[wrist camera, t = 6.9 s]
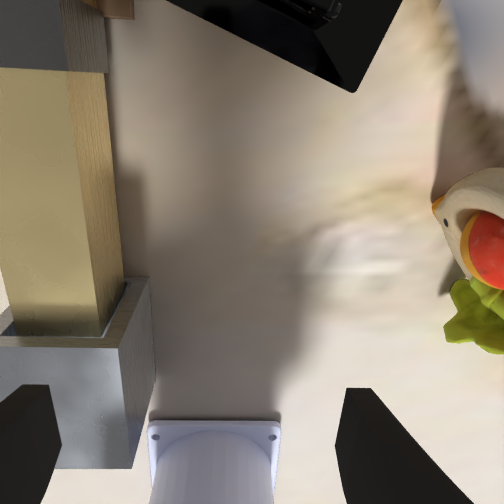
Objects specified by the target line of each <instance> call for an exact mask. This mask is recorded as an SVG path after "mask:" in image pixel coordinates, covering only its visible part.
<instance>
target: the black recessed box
mask: <svg viewBox="0 0 504 504" xmlns="http://www.w3.org/2000/svg"><path fill="white" fill-rule="evenodd" d="M166 1H168V2H170V3H172V4H174V5H176V6H178V7H180V8H182V9H184V10H186V11H188V12H190V13H192V14H194V15H196V16H198V17H200V18H202V19H204V20H206V21H208V22H210V23H212V24H214V25H216V26H218V27H220V28H222V29H224V30H226V31H228V32H230V33H232V34H234V35H236V36H238V37H240V38H242V39H244V40H246V41H248V42H250V43H252V44H254V45H256V46H258V47H260V48H262V49H264V50H266V51H268V52H270V53H272V54H274V55H276V56H278V57H280V58H282V59H284V60H286V61H288V62H290V63H292V64H294V65H296V66H298V67H300V68H302V69H304V70H306V71H308V72H310V73H312V74H314V75H316V76H318V77H320V78H322V79H324V80H326V81H328V82H330V83H332V84H334V85H336V86H338V87H340V88H342V89H344V90H346V91H348V92H351V93H354V92H356V91H357V89H358V87H359V85H360V83H361V81H362V79H363V77H364V75H365V73H366V71H367V69H368V67H369V65H370V64H371V62H372V60H373V58H374V56H375V54H376V52H377V50H378V48H379V46H380V44H381V42H382V40H383V38H384V36H385V34H386V32H387V30H388V28H389V26H390V24H391V22H392V20H393V18H394V16H395V14H396V12H397V10H398V9H399V7H400V5H401V3H402V1H403V0H166ZM436 1H437V2H438V4H440V2H441V0H436Z"/></svg>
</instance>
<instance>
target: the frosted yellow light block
mask: <svg viewBox="0 0 504 504" xmlns="http://www.w3.org/2000/svg"><path fill="white" fill-rule="evenodd" d="M104 73H109V68H108V57H107V46H106V36H105V25H104V14H103V12H102V11H100V10H99V9H97V0H0V268H1V272H2V276H3V280H4V284H5V288H6V292H7V296H8V300H9V304H10V308H11V312H12V316H13V320H14V324H15V328H16V332H17V336H61V337H101V336H102V334H103V333H104V331H105V329H106V327H107V325H108V323H109V321H110V319H111V317H112V315H113V313H114V311H115V310H116V308H117V306H118V304H119V302H120V300H121V298H122V296H123V294H124V292H125V284H124V274H123V263H122V253H121V243H120V233H119V223H118V213H117V202H116V192H115V182H114V172H113V162H112V152H111V142H110V131H109V121H108V111H107V101H106V91H105V81H104Z"/></svg>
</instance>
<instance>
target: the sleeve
mask: <svg viewBox="0 0 504 504" xmlns="http://www.w3.org/2000/svg"><path fill="white" fill-rule="evenodd" d="M124 284H125V292H124V294H123V296H122V298H121V300H120V302H119V304H118V306H117V308H116V310H115V311H114V313H113V315H112V317H111V319H110V321H109V323H108V325H107V327H106V329H105V331H104V333H103V334H102V336H101V337H61V336H17V332H16V328H15V324H14V320H13V316H12V312H11V308H10V306H9V307H8V308H7V309H6V310H5V311H4V312H3V313H2V314H1V315H0V402H1V401H3V400H4V399H5V398H6V397H7V396H9V395H10V394H11V393H12V392H14V391H15V390H16V389H17V388H19V387H20V386H21V385H22V384H42V385H49V387H50V392H51V396H52V401H53V405H54V410H55V414H56V419H57V424H58V428H59V433H60V437H61V442H62V447H61V450H60V453H59V456H58V459H57V462H56V465H55V468H54V469H132V466H133V462H134V458H135V454H136V451H137V447H138V443H139V440H140V436H141V432H142V428H143V425H144V421H145V417H146V413H147V410H148V406H149V402H150V398H151V395H152V391H153V387H154V383H155V380H156V373H155V358H154V343H153V328H152V314H151V299H150V284H149V277H130V276H124Z"/></svg>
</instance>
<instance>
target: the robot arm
mask: <svg viewBox="0 0 504 504" xmlns="http://www.w3.org/2000/svg"><path fill="white" fill-rule="evenodd" d="M155 434H158V435H155ZM147 438H148V449H149V461H150V472H151V484H152V491H151V496H150V501H149V504H274V490H275V482H276V473H277V465H278V456H279V448H280V439H281V425H280V423H278V422H276V421H197V420H154V421H151V422H150V423H149V424H148V428H147ZM61 447H62V442H61V437H60V433H59V428H58V424H57V419H56V414H55V410H54V405H53V401H52V396H51V392H50V387H49V385H42V384H22V385H21V386H20V387H19V388H17V389H16V390H15V391H14V392H12V393H11V394H10V395H9V396H7V397H6V398H5V399H4V400H3V401H1V402H0V504H40V503H41V501H42V499H43V497H44V495H45V492H46V490H47V487H48V485H49V482H50V479H51V476H52V474H53V471H54V468H55V465H56V462H57V459H58V456H59V453H60V450H61ZM335 449H336V455H337V461H338V466H339V472H340V477H341V482H342V487H343V491H344V495H345V498H346V502H347V504H474V503H473V502H472V501H471V500H470V499H469V498H468V497H467V496H466V495H465V494H464V493H463V492H462V491H461V490H460V489H459V488H458V487H457V486H456V485H455V484H454V483H453V481H452V480H451V479H450V478H449V477H448V476H447V475H446V474H445V473H444V472H443V471H442V470H441V468H440V467H439V466H438V465H437V464H436V463H435V462H434V461H433V460H432V459H431V457H430V456H429V455H428V454H427V453H426V452H425V451H424V450H423V449H422V447H421V446H420V445H419V444H418V443H417V442H416V441H415V439H414V438H413V437H412V436H411V435H410V434H409V433H408V431H407V430H406V429H405V428H404V427H403V426H402V424H401V423H400V422H399V421H398V420H397V418H396V417H395V416H394V415H393V414H392V413H391V411H390V410H389V409H388V408H387V407H386V405H385V404H384V403H383V402H382V401H381V399H380V398H379V397H378V396H377V395H376V394H375V392H374V391H373V390H372V389H371V388H346V393H345V398H344V403H343V408H342V413H341V418H340V423H339V428H338V433H337V438H336V443H335Z"/></svg>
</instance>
